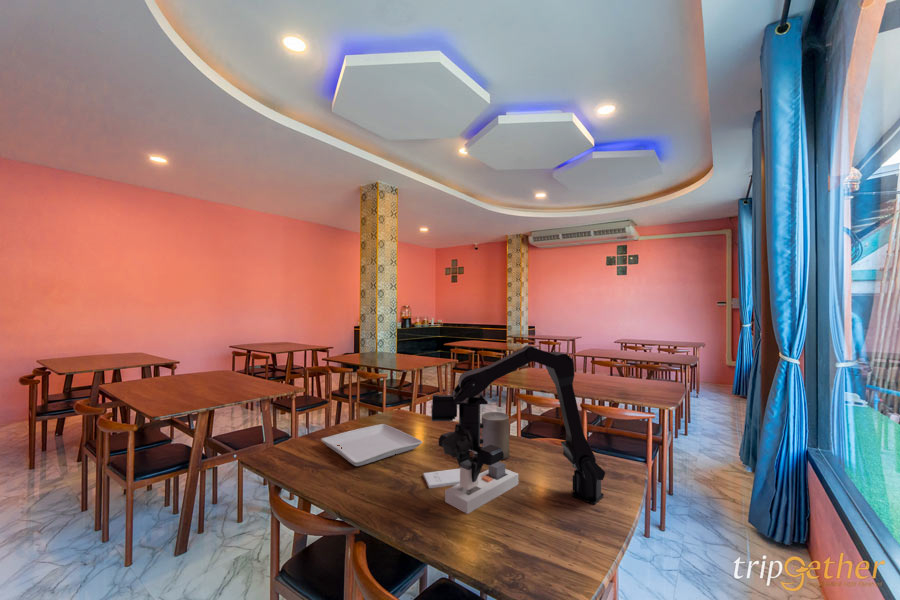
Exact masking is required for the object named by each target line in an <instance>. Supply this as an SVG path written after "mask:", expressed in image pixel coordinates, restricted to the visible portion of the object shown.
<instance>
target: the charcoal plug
mask: <svg viewBox="0 0 900 600" xmlns="http://www.w3.org/2000/svg"><path fill="white" fill-rule="evenodd" d="M488 469H489V477H491V478H493V479H496V480H498V479H500V478H502V477H504V476H505V469H506V464H505V463H504V462H502V461H499V462H497V463H495V464H492V465H488Z"/></svg>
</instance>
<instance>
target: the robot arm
mask: <svg viewBox="0 0 900 600" xmlns="http://www.w3.org/2000/svg"><path fill="white" fill-rule="evenodd" d="M531 362H534V363H537V364H540V365H542V366H545V368H546V370H547V373H548V375H549V376H550V378H551V380H552V382H553V384H554V387H555V390H556V394H557V398H558V403H559V406H560V411H561V416H562V419H563V425H564V429H565V434H566V437H565V440H561V441H560V443H561V447H562V451H563V452H562V453H563V454H562V456H564V457H565V458H566V459H567V460H568V462H570V463H571V464H572V467H573V468H574V471H573V475H572V492H571V494H570V495H571V496H572V497H574V498H576V499H579V500H581V501H584V502H586V503H589V504H591V505H596V503H598V502H599V501H600V500H601V499H603V498H604V497H605V494H604V493H603V492H602V481H604V478H605V475H606V471H605V470H604V469H603V468H602V467H601V466H599V464H598V463H597V461H596V460H597V459H596V456H595V454H594V452H593V449H592V447H591V445H590V444H589V441H588V440H587V438H586V437H585V434H584V429H583V424H582V421H581V416H580V412H579V406H578V404H577V403H578V402H577V397H576V395H575V389H574V379H575V363H574V360H573V358H572V357H571V356H570V355H568V354H566V353H563V352H559V351H550V352H548V351H545V350H542V349H540V348H537V347H535V346H533V345H531V344H530V345H529V344H527V345H524V346H523V347H522V348H521V349H520V348H519V349H518V350H516V351H514V352H512V353H511V354H508V355H506V356H504V357H503V358H500V359H499V360H496V361H495V362H493V363H491V364H489V365H487V366H484V367H478V368H474V369H471V370H467V371H464V372H462V373H461V374H460V376H459V378H458V381H457V385H456V386H455V387H454V389H453V390H452V391H451V393H450V394H432V397H431V398H432V400H431V410H430V411H431V412H430V413H431V415H430V416H431V422H453V421H454V420H455V419H456V418H457V417H458V423H456V424H455V426H454V431H449V432H446V433H444V434H443V433H442V434H441V435H440V436H439V438H438V446H439V447H440V448H442V449H443V452H444V455H448V456H451V457H452V458H453V459H454V458H456V460H457V463H458V466H459V468H460V463H461V462H463V461H466V460H469V461H470V462H471V470H472V482H475V481H476V480H477V478H478V475H479V474H480V473H481V470H482V469H483V466H484V465H486V466H489V465H492V464H495V463H497V462H502V461H503V459H504V453H503V450H502V449H501V448H499V447H496V446H493V445H488V446H486V447H482V443H483V439H482V437H481V430H482V428H483V424H482V422H481V405H488V404H489V401H488V400H487V399H486V398H485V397H484V395H483V394H482V393H483V392H484V391H485V390H486V389H487V388H488V387H490V385H491V384H492V383H494V382H495V381H496V380H498V379H500V378H502V377H504V376H506V375H508V374H510V373H512V372H514V371H516V370H519V368H522V367H524V366H526V365H527V364H529V363H531ZM471 453H473V455H472V457H471ZM504 460H505V459H504Z"/></svg>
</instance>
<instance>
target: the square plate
mask: <svg viewBox="0 0 900 600" xmlns="http://www.w3.org/2000/svg"><path fill="white" fill-rule="evenodd" d="M320 440H321V442H323V444H324V445H325V446H327V447H328V448H330V449H331V450H333V451H334V452H335V453H336V454H339V455H340V456H341V457H343V458H344V459H345V460H347V462H349V463H350V464H351V465H353V466H355V467H361V466H363V465H367V464H371V463H374V462H377V461H380V460H383V459H385V458H388V457H391V456H392V457H393V456H395V454H396V455H398V454H402V453H405V452H408V451H412V450H414V449H416V448H418V447H419V446H420V445H421V444H423V440H421V439H418V438H417V437H415V436H412V435H410V434H408V433H406V432H404V431H402V430H400V429H397V428H396V427H393V426H390V425H388V424H386V423H381V424H380V423H379V424H375V425H370V426H366V427H360V428H357V429H353V430H349V431H344V432H341V433H337V434H336V433H335V434H333V435H329V436H326V437H322V438H320ZM337 445H340V446H337ZM341 447H342V449H341Z"/></svg>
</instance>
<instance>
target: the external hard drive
mask: <svg viewBox="0 0 900 600" xmlns="http://www.w3.org/2000/svg"><path fill="white" fill-rule="evenodd" d="M422 476H423V479H424V481H426V484H427V487H428V489H434V488H441V487H442V488H443V487H450V486H451V487H452V486H455V485H457V484H459V483H460V467H459V468H452V469H445V470H438V471H430V472H423V473H422Z"/></svg>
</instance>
